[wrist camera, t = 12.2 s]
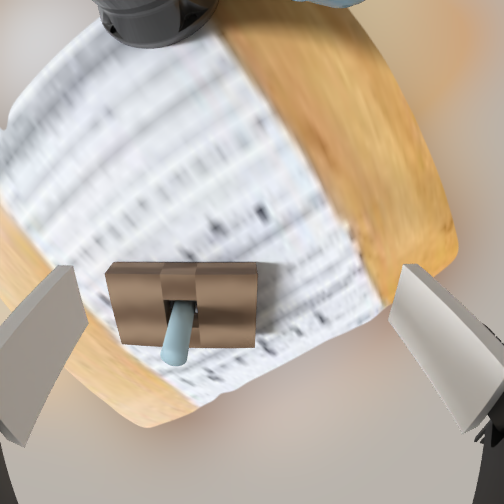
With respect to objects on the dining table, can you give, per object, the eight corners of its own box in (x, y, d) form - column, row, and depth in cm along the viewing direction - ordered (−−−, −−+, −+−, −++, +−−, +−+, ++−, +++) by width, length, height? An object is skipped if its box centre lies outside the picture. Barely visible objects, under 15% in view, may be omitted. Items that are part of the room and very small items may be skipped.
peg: (175, 290, 41) (158, 345, 30) (195, 291, 41) (186, 347, 30) (176, 308, 42) (162, 365, 31) (196, 309, 42) (187, 366, 31)
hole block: (113, 262, 38) (104, 273, 35) (255, 262, 40) (257, 274, 37) (127, 330, 43) (122, 344, 40) (252, 332, 44) (254, 347, 41)
